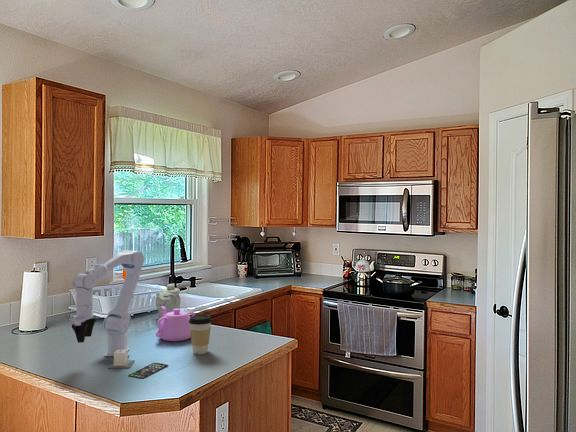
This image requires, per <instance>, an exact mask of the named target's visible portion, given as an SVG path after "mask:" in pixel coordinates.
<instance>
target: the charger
mask: <svg viewBox="0 0 576 432" xmlns="http://www.w3.org/2000/svg"><path fill="white" fill-rule="evenodd" d="M127 355H128V351H127V349H122V350H116V351H115V352H114V356H113V361H114V366H123V365H125V364H126V363H127V360H128V358H127Z"/></svg>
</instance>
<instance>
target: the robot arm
mask: <svg viewBox="0 0 576 432" xmlns="http://www.w3.org/2000/svg"><path fill="white" fill-rule="evenodd" d="M144 263H145V256H144V254H143V252H142V251H140V250H125V249H122V250H121V251H119V252H117V253H116V255H114V256H113V257H112V258H110V259H109V260H108V261H106V262H105V263H104V264H102V263H96V264H94V266H93V267H91V268H90V269H86V270H85V271H84V272H83V273H79V274H76V275H75V277H74V278H73V281H72V285H73V287H74V290H75V293H76V294H75V295H76V299H75V300H76V301H75V303H76V305H75V306H76V307H75V308H76V310H75V312H76V313H75V315H73V317H72V319H75V320H74V323H72V324H71V328H72V331H73V332H74V334H75V337H76V340H77V343H79V344H80V343H84V342H85V339H86V338H87V337H89V338H90V337H92V335H93V329H94V326H95V324H96V323H95V322H96V321H97V316H96V317H95V316H94V314H95V313H94V311H93V304H94V303H93V289H94V288H95V286H96V284H97V283H98V282H99V281H101V280H102V279H104V278H105V277H107V276H108V275H109V272H110V271H112V270H113V269H116V268H117V267H118V266H121V267H122V269H124V271H125V272H126V275H125V279H124V282H123V284H122V286H121V289H120V293H119V294H118V297H117V301H116V304H115V305H114V308H113V309H111V310H109V312H108V313H107V316H105V318H104V319H103V323H102V328H103V329H104V330H105V333H106V334H107V335H106V336H107V338H106V339H107V340H106V344H107V345H106V346H107V348H106V349H107V351H106V352H105V354H104V355H103V356H104V357H114V352H115V351H116V350H122V349H127V352H129V350H130V347H128V334H127V332H128V330H129V329H130V325H131V322H130V321H131V318H132V317H131V315H130V313H129V311H128V310H130V309H129V308H130V306H131V302H132V300H133V297H134V294H135V292H136V288H137V286H138V282H139V280H140V277H141V273H142V268H143V266H144Z"/></svg>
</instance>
